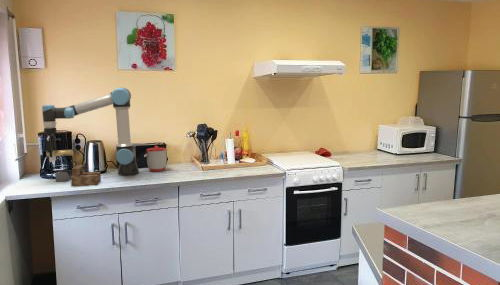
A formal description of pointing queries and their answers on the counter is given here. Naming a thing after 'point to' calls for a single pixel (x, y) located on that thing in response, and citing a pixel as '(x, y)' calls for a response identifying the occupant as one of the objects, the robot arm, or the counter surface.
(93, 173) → the brown wooden l-shaped block
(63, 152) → the axle
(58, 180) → the v block
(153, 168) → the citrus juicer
